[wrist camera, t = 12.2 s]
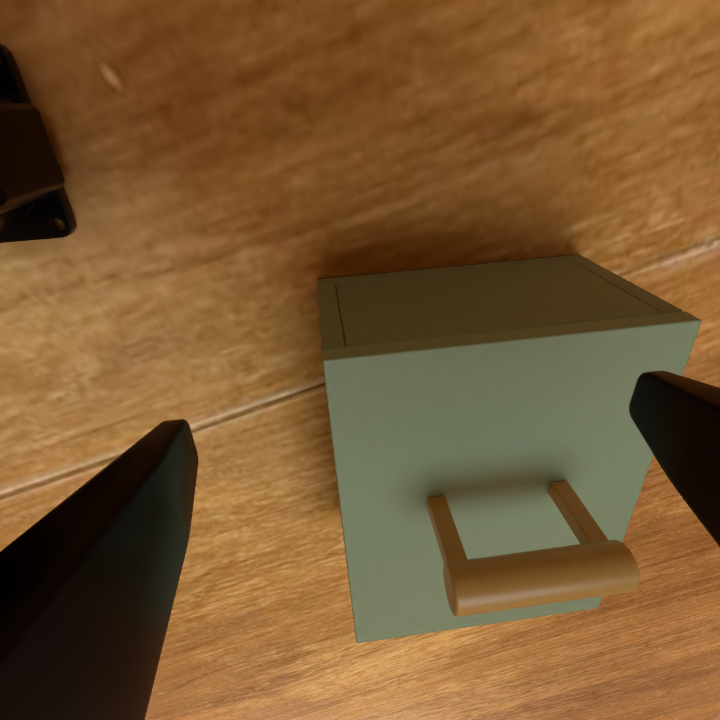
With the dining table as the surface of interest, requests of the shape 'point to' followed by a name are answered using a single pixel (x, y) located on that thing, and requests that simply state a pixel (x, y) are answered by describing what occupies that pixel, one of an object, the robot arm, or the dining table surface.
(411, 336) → the green box
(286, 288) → the dining table surface
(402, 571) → the lid
